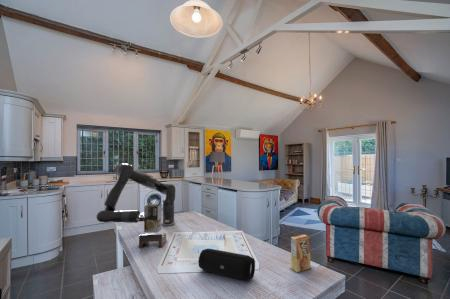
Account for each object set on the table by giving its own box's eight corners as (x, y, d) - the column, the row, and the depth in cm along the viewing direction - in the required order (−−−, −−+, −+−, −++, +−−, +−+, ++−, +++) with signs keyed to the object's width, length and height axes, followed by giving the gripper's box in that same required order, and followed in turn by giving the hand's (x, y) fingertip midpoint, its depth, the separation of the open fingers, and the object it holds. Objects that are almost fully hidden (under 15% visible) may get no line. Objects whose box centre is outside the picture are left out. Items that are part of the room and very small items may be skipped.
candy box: (304, 264, 109) (303, 233, 109) (311, 268, 105) (310, 236, 106) (291, 268, 105) (290, 236, 105) (297, 272, 101) (296, 239, 102)
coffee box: (161, 229, 140) (162, 204, 141) (157, 232, 134) (158, 206, 134) (148, 228, 141) (148, 203, 141) (143, 232, 134) (144, 206, 135)
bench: (145, 241, 142) (145, 229, 142) (166, 241, 142) (166, 229, 142) (138, 247, 132) (139, 235, 132) (161, 247, 132) (161, 234, 132)
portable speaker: (197, 274, 101) (197, 252, 102) (207, 264, 110) (207, 244, 111) (249, 286, 91) (249, 262, 91) (255, 274, 100) (255, 252, 100)
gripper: (125, 213, 130) (152, 213, 130) (135, 207, 145) (160, 207, 145) (125, 225, 130) (152, 225, 130) (135, 219, 145) (159, 219, 145)
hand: (156, 216), depth 138 cm, fingers closed on coffee box, 6 cm apart
